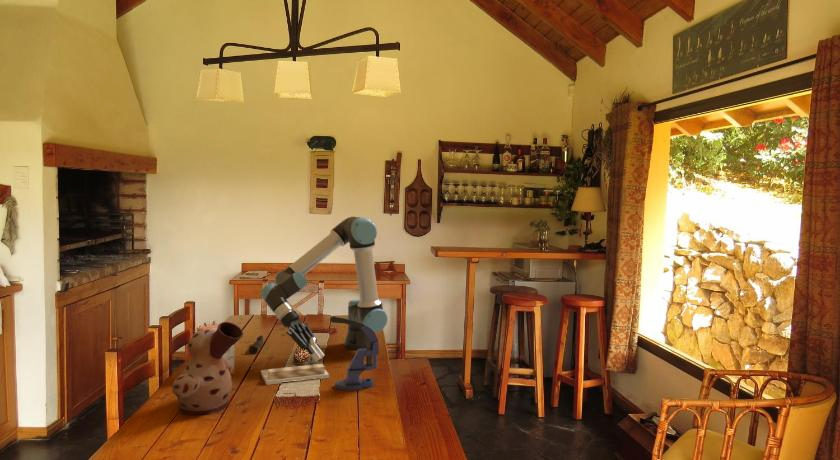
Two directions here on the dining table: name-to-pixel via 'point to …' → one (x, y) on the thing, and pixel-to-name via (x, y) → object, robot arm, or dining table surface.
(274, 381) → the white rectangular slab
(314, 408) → the dining table surface
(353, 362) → the hand press
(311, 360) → the surface gauge
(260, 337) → the hand tool
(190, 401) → the vessel
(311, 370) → the oak board
